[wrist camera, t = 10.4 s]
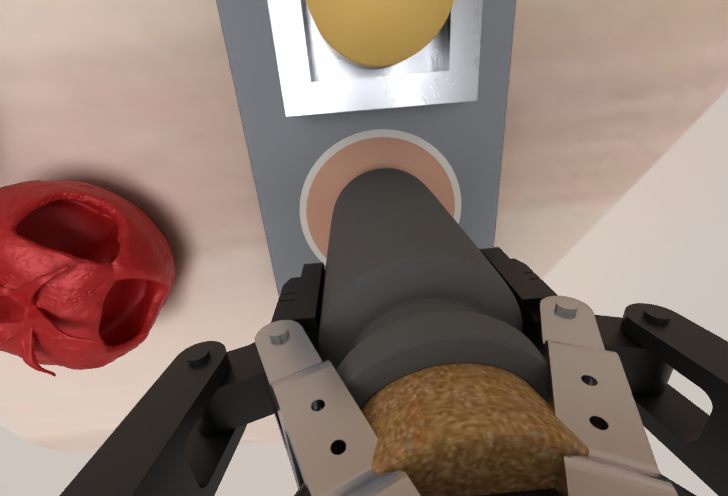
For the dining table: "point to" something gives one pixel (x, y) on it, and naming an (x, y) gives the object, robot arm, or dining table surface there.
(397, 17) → the button
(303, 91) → the button housing
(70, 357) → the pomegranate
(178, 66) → the dining table surface
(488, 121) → the board
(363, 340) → the bottle
